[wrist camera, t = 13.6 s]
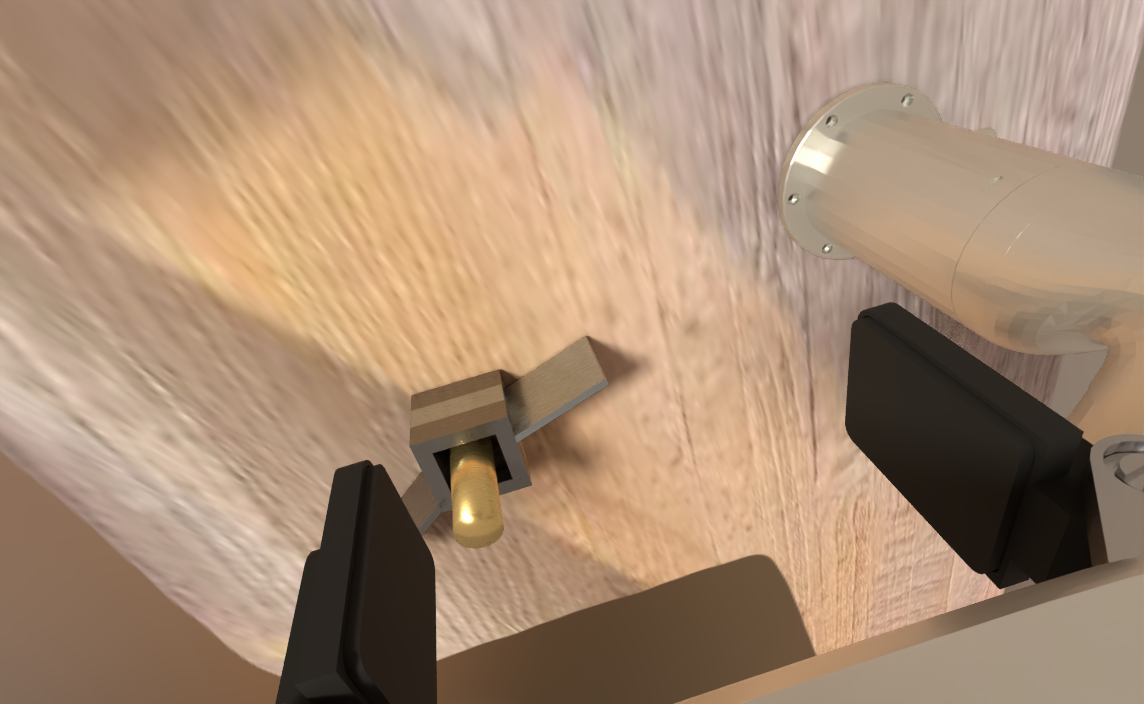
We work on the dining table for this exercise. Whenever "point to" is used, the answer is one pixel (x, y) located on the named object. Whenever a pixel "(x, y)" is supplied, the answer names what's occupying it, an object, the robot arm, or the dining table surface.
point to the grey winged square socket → (492, 423)
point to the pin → (475, 494)
